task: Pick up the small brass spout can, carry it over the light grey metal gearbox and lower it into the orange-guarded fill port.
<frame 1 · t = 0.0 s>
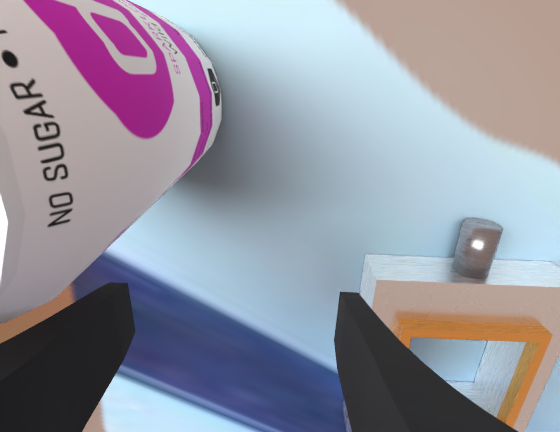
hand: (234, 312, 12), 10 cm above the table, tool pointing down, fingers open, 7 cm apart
supplement can: (151, 99, 19), on the table
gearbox: (435, 342, 25), on the table
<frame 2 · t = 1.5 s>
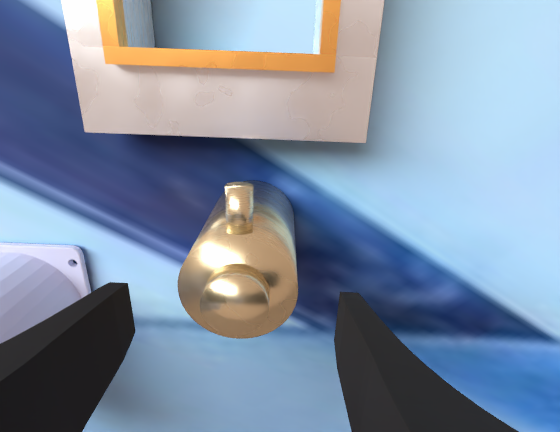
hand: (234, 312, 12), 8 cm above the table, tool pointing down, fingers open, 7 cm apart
spout can: (254, 218, 19), on the table
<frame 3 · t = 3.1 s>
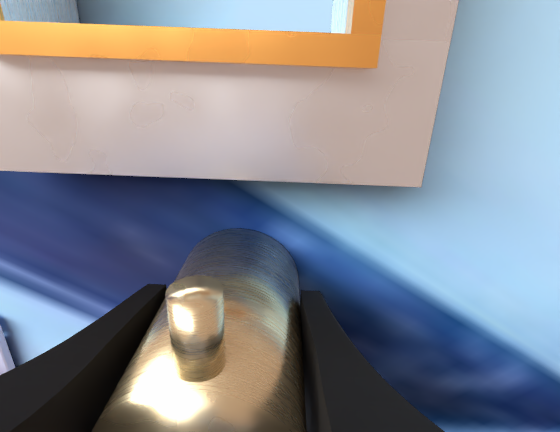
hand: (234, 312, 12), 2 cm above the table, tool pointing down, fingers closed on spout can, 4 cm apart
spout can: (241, 280, 13), on the table, touching gripper
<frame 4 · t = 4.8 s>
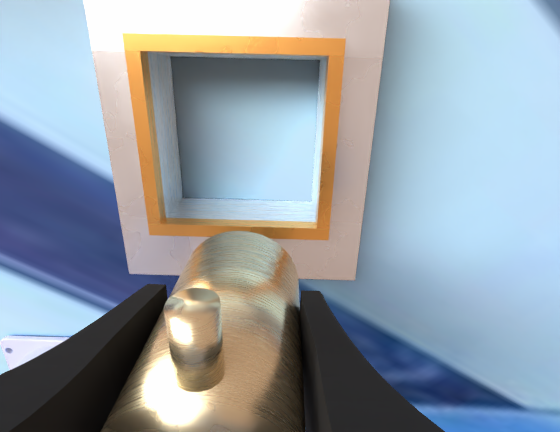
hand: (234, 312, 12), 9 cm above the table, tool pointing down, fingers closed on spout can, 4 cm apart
spout can: (241, 281, 14), point 7 cm above the table, touching gripper
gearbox: (246, 134, 18), on the table
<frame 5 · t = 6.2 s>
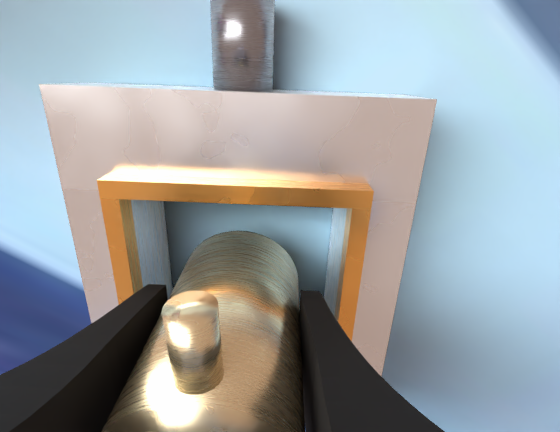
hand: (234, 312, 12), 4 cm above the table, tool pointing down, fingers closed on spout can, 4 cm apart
spout can: (241, 281, 14), point 2 cm above the table, touching gripper
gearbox: (248, 250, 16), on the table
when the fingers open (4 cm above the table, at t = 7.0 s): spout can drops 2 cm, resting in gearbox.
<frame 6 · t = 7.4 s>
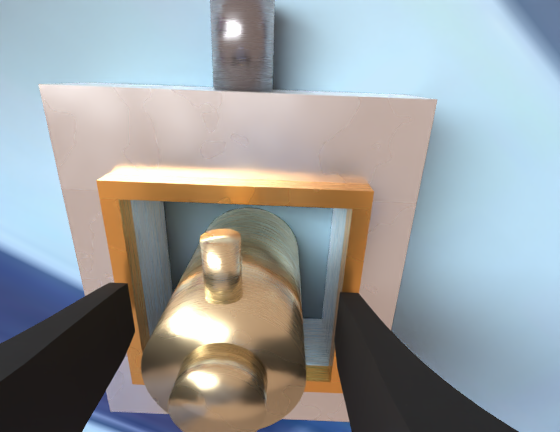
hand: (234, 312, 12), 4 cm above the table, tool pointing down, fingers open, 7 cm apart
spout can: (249, 252, 16), resting in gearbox
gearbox: (248, 250, 16), on the table
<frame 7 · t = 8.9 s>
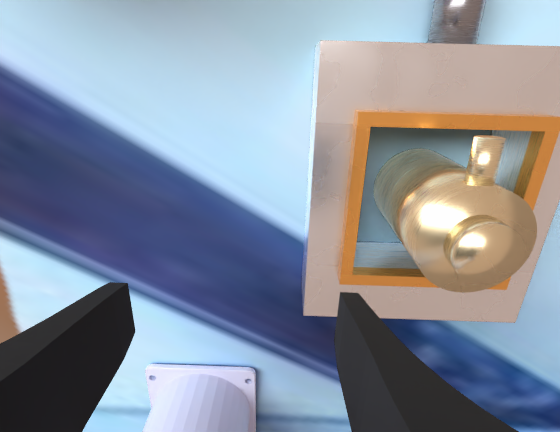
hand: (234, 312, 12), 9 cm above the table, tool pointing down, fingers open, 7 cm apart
spout can: (413, 187, 19), resting in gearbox
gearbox: (412, 185, 19), on the table
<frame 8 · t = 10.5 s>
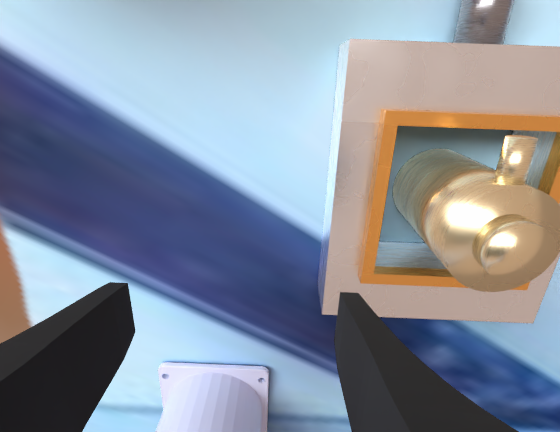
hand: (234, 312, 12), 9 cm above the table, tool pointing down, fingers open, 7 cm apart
spout can: (432, 187, 20), resting in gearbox
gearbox: (431, 185, 19), on the table
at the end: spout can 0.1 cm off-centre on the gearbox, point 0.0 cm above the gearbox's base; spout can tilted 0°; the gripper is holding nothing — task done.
